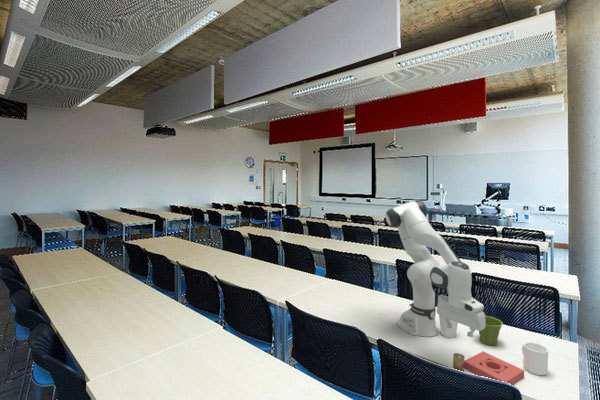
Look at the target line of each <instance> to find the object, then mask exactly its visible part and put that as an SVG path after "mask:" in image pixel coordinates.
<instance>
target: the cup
mask: <svg viewBox="0 0 600 400" xmlns="http://www.w3.org/2000/svg"><path fill="white" fill-rule="evenodd" d="M438 317H439V328H440V334H441V336H444V337H445V338H449V339H450V338H451V339H455V338H456V336H457V331H458V330H457V329H458V324H459V323H458V322H455V321H453V320H450V319H449V321H450V323H451V324H452V328H451V329H450V328H447V324H446V322H445V320H444V317H443V316H441V315H438Z"/></svg>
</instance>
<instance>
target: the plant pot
mask: <svg viewBox="0 0 600 400" xmlns="http://www.w3.org/2000/svg"><path fill="white" fill-rule="evenodd" d="M485 322H486V326H485V328H484V329H483V330H481V331H478V335H479V341H480V342H481V343H482V344H484V345H487V346H496V345H497V344H498V340H499V335H500V331H501V329H502V327H503V325H504V323H503V321H501V320H500V319H498V318H496V317H493V316H489V315H485Z"/></svg>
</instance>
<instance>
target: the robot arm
mask: <svg viewBox="0 0 600 400" xmlns="http://www.w3.org/2000/svg"><path fill="white" fill-rule="evenodd" d="M427 216H428V208H427V205H426V204H425V202H424V201H422V200H420V199H419V200H414V201H410V202H406V203H402V204H400V205H398V206H396V207H393V208H390V209H387V211H386V213H385V221H386V223H387V224H388V226H389V227H391V228H392V229H393V228H397V230H398V233H399V237H400V240H401V243H402V245H403V249H404V251H405V253H406V254H407V255H408V256H409V257H410V258H411V259H412V261H413V264H411V266H409V267H408V269H407V271H406V275H407V278H408V280H409V282H410V283H411V286H412V287H411V288H412V300H413V301H412V303H409V304H408V307H410V309H407V310H405V311H403V312H402V313H401V315H400V318H399V319H398V320H396V322H395V325H397V326H399V327H400V328H401V329H403V330H404V331H406V332H407V333H409V334H410V335H412V336H420V337H427V338H429V337H434V336H437V335H438V332H439V331H438V328H437V321H436V313H437V315H438V316H439V315H441V316H443V317H444V320H445V322H446V324H447V328H450V329H451V328H452V324H451V323H450V321H449V319H450V320H453V321H455V322H458V324H461V325H463V326H465V327H468V328H469V331H467V333H466V335H467V337H468V338H473V337H474V333H475V332H476V331H477V332H479V331H481V330H483V329H484V328H485V326H486V322H485V316H486V314H485V312H484V311H483V310H484V309H485V306H484V304H483V303H481V302H479V301H478V300H477V299H475V298H474V297H473V296H472V292H471V289H472V281H473V278H472V271H471V268H470V266H469V265H468V263H465V262H462V260H461V259H460V258H459V257H458V255H457V254H456V253H455V251H454V250H453V248H452V247H451V246H450V245H449V244H448V243H449V242H447V241H446V239H445V238H444V237H443V236H442V235H441V234H440V233H438V232H437V231H436V230H435V229H434V228H433V227H432V225H431V223H430V222H429V220H428V219H427ZM428 248H431V249H433V250H435V251H437V253H438V254H439V255H440V257H441V258H442V259H443V261H444V263H445V264H444V265H443V264H442V265H440V262H438V261H437V259H435V258H434V257H433V256H432V254H431V252H430V250H429V249H428ZM432 284H433V285H434V286H435V287H437V288H439V289H447V290H448V292H447V295H448V296H447V295H444V294H439V295H438V296H437V304H436V303H435V302H436V293H435V291H434V289H433V286H432ZM436 305H437V306H436Z"/></svg>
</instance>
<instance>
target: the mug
mask: <svg viewBox="0 0 600 400" xmlns="http://www.w3.org/2000/svg"><path fill="white" fill-rule="evenodd" d="M521 353H522V355H523V368H524V370H525V371H527V372H528V373H531V374H533V375H536V376H546V375H547V374H548V370H549V367H548V365H549V349H548V348H547V347H546V346H545V345H543V344H540V343H538V342H537V343H536V342H524V344H522V347H521Z"/></svg>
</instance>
